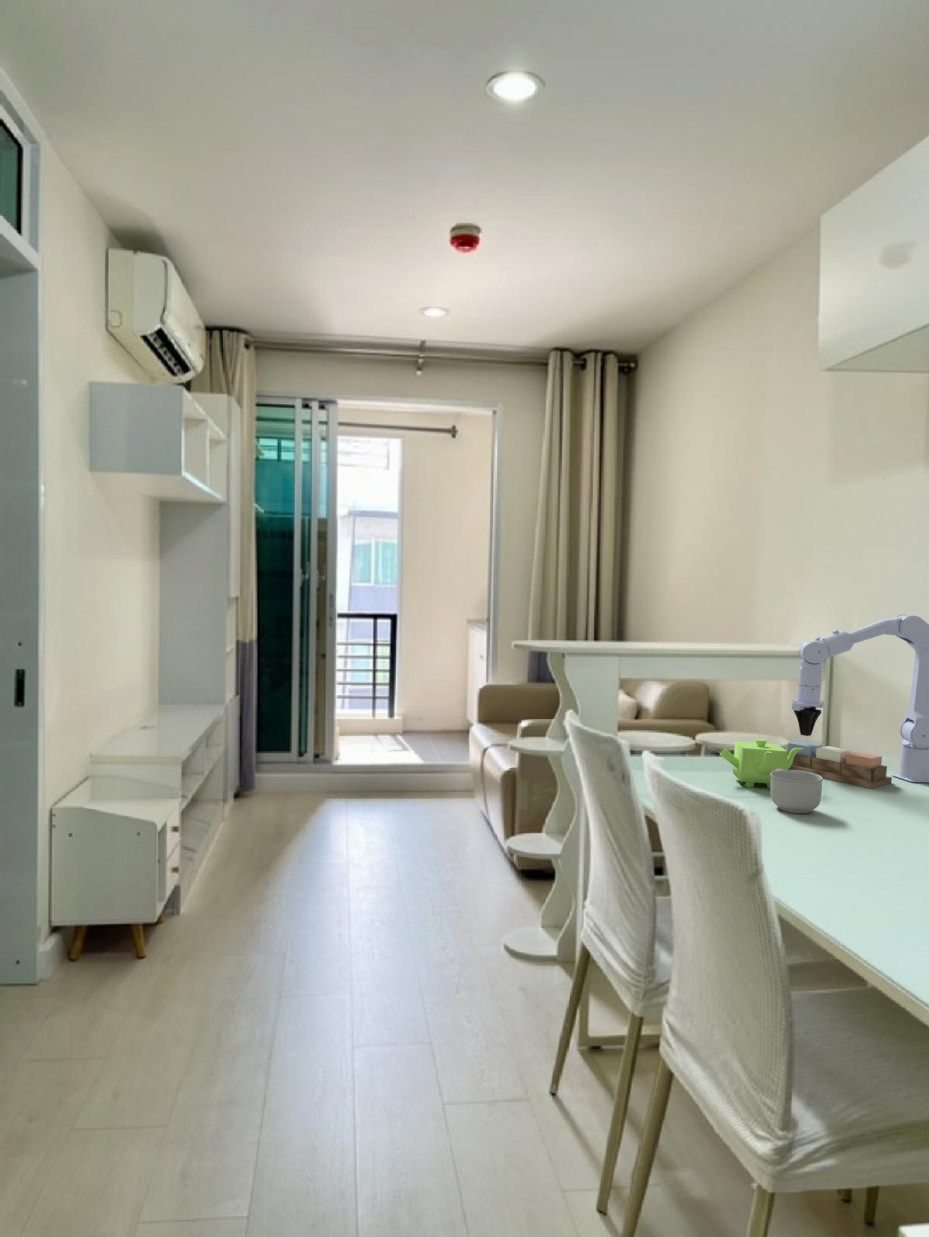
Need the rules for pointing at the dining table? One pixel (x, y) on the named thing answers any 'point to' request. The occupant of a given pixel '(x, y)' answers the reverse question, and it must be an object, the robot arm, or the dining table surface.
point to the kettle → (758, 761)
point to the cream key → (832, 754)
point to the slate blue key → (808, 748)
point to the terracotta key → (864, 760)
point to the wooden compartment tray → (842, 771)
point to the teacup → (796, 790)
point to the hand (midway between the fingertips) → (805, 735)
